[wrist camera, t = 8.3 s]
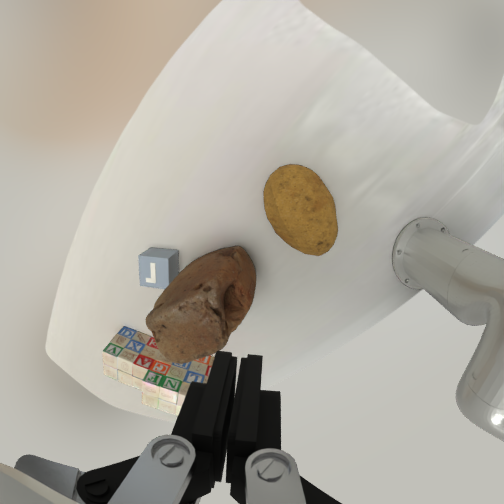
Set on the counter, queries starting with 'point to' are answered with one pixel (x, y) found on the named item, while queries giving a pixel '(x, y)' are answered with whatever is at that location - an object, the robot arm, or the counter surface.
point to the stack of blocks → (152, 370)
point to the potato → (301, 209)
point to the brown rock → (203, 305)
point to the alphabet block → (158, 267)
